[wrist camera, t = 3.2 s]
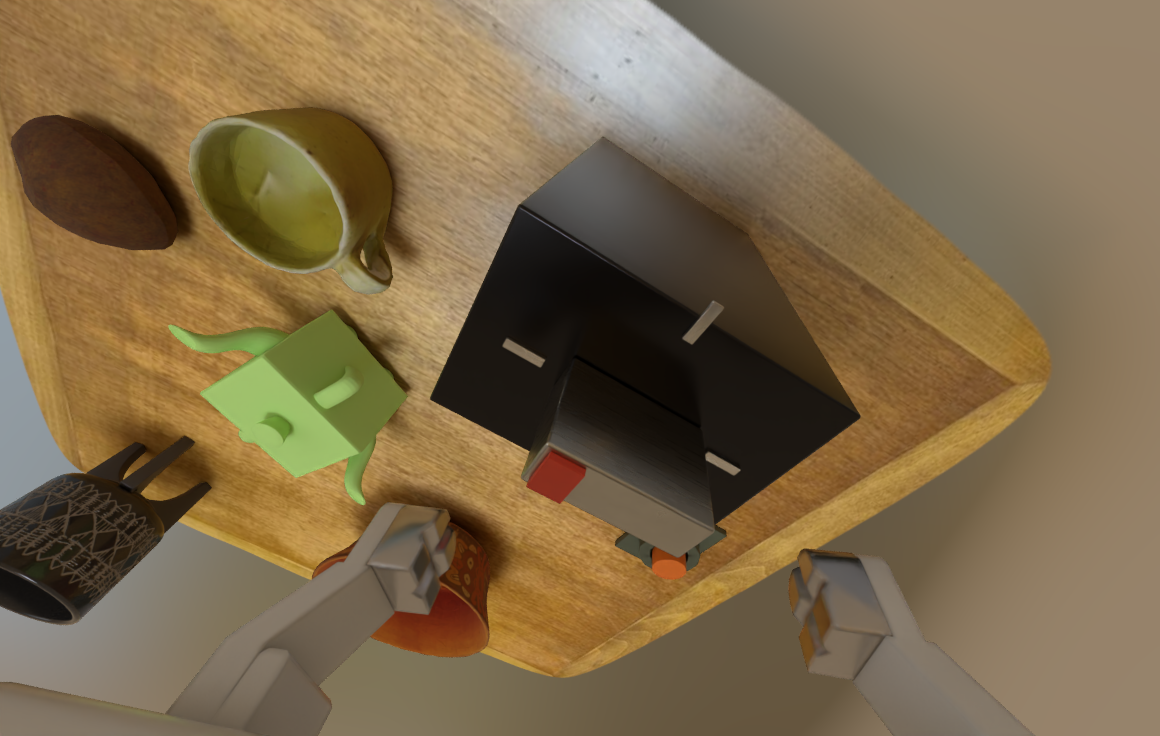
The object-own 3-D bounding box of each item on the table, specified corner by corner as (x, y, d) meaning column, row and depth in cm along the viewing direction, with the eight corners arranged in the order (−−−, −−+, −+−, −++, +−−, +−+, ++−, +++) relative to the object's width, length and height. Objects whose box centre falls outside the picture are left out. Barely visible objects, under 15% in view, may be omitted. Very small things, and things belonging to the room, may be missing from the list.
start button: (665, 538, 46) (665, 555, 44) (692, 552, 46) (693, 570, 44) (645, 552, 47) (645, 569, 46) (671, 566, 48) (672, 583, 46)
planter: (146, 475, 59) (-24, 603, 44) (112, 407, 52) (-104, 533, 37) (236, 502, 59) (97, 638, 44) (215, 438, 52) (41, 576, 37)
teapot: (415, 436, 46) (357, 518, 37) (297, 405, 46) (212, 478, 37) (412, 314, 37) (336, 382, 29) (267, 276, 38) (148, 332, 29)
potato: (89, 85, 31) (-41, 84, 25) (215, 210, 35) (128, 234, 29) (60, 145, 34) (-63, 156, 28) (180, 254, 38) (94, 284, 32)
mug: (210, 138, 30) (119, 168, 22) (334, 67, 29) (286, 71, 21) (338, 280, 37) (305, 340, 29) (440, 226, 36) (433, 274, 29)
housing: (667, 498, 45) (667, 517, 43) (726, 530, 47) (729, 551, 45) (615, 540, 51) (613, 559, 49) (669, 568, 52) (670, 588, 50)
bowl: (421, 590, 65) (387, 663, 56) (328, 498, 55) (270, 570, 47) (541, 577, 57) (521, 659, 49) (457, 469, 48) (415, 548, 40)
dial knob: (703, 429, 14) (717, 540, 11) (674, 456, 15) (678, 568, 11) (574, 355, 13) (544, 450, 10) (551, 389, 14) (516, 486, 11)
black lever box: (755, 227, 29) (882, 408, 13) (673, 325, 34) (688, 549, 18) (607, 126, 27) (526, 183, 11) (544, 246, 32) (421, 413, 16)
